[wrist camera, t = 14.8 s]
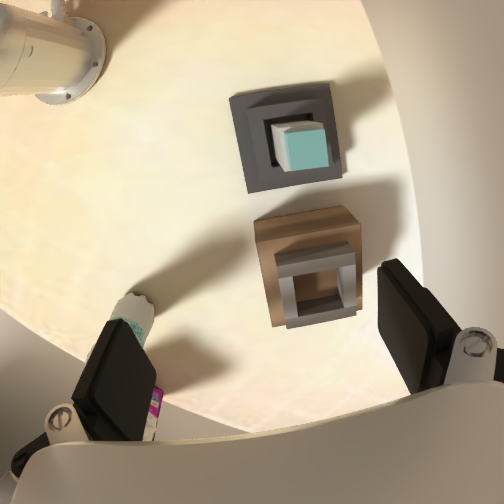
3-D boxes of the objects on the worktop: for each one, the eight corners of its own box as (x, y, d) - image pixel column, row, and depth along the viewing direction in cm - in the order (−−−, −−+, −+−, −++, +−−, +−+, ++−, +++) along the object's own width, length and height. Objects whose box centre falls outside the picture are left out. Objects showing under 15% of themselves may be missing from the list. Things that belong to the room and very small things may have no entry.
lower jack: (229, 98, 35) (227, 96, 31) (326, 84, 34) (335, 81, 30) (247, 191, 40) (248, 200, 36) (340, 176, 39) (349, 183, 35)
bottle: (111, 291, 46) (58, 386, 27) (149, 284, 45) (106, 386, 27) (127, 325, 48) (88, 422, 30) (164, 320, 48) (134, 424, 30)
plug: (269, 123, 35) (281, 129, 24) (302, 119, 35) (328, 124, 24) (274, 156, 37) (287, 176, 26) (307, 151, 37) (333, 170, 26)
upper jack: (253, 221, 41) (256, 254, 32) (343, 205, 41) (369, 234, 32) (268, 297, 47) (274, 342, 37) (347, 282, 46) (369, 323, 37)
